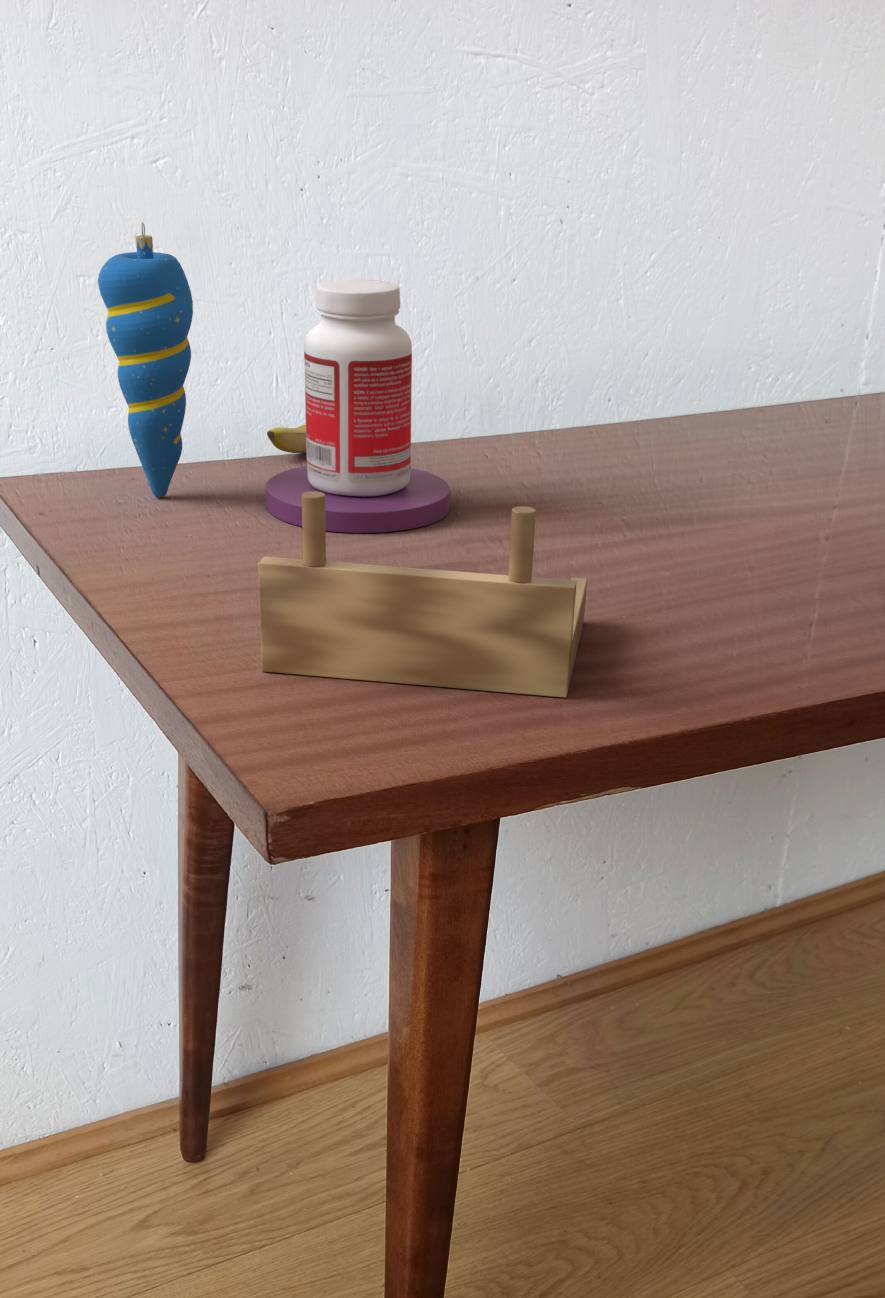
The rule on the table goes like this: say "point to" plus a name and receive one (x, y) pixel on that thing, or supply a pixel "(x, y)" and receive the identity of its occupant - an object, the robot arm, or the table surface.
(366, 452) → the pill bottle
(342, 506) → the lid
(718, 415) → the table surface
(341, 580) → the rack
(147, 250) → the ornament
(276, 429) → the banana
